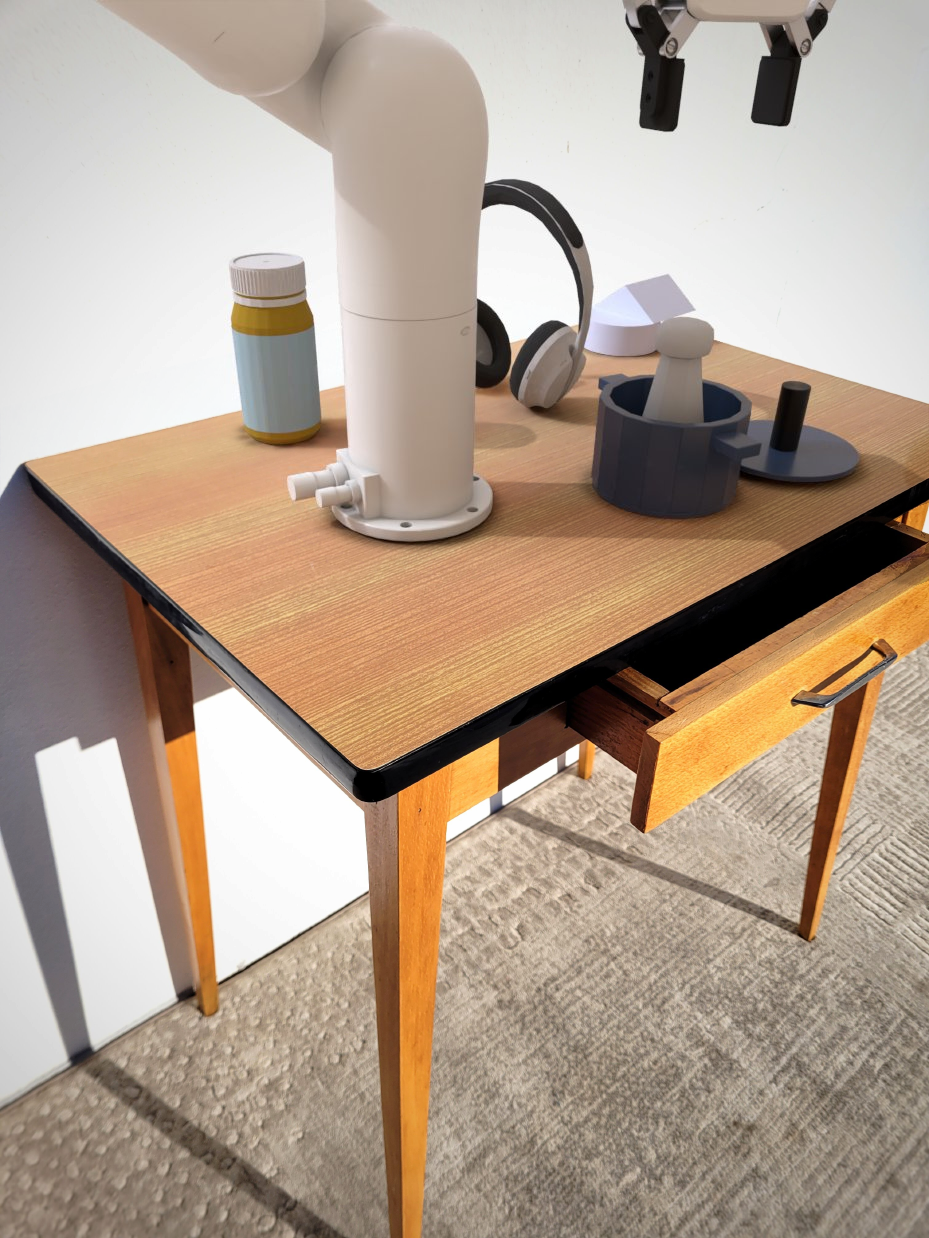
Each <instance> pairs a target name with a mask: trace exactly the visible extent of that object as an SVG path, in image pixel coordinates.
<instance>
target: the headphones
mask: <svg viewBox="0 0 929 1238" xmlns="http://www.w3.org/2000/svg"><path fill="white" fill-rule="evenodd" d="M498 205H499V206H500V205H504V206H513V207H516V208H517V209H520V210H523V211H525V212H527V213H529V214H531V215H533V217H535V218H536V219H537V220H538V221H539V222H541V223H542V224H543V225H544V227H545V229H547V231H548V232H549V233H550V234H551V236H552V237H553V239H554V240H555V241H556V242H557V244H558V245H559V246H560V248H561V249H562V251H563V253H564V256H565V258H566V261H567V263H568V264H569V265H568V266H569V267H570V269H571V271H572V274H573V278H574V281H575V285H576V292H577V299H578V300H577V301H578V307H579V308H578V327H577V328H578V330H577V332H576V330H575V329H574V328H573V327H572V326H570V325H569V324H567V323H566V322H563V321H560V320H555V319H550V320H548V321H545V322H543V323H541V324H540V325H539V326H538V327H536V328H535V329H534V331H533V332H531V334H530V335H529V336H528V337H527V338H526V340H525V341H524V343H523V344H522V346H521V347H520V349H519V351H518V353H517V355H516V356H515V360H514V362H513V364H512V347H511V341H510V337H509V336H510V335H509V334H508V330H507V329H506V327H505V324H504V322H503V321H502V320H501V318H500V316H499V315H498V313H497V312H496V311H495V310H494V308H492V307H491V306H490V305H489V304H488V303H486V301H483V300H481V299H480V298H478V297H477V332H476V378H475V389H476V390H477V389H478V390H487V389H492V388H495V387H497V386H498V385H499V384H501V383H502V382H503V381H504V380H505V379H506V377H507V375H508V374H509V372H510V376H509V381H508V382H509V389H510V393H511V394H512V396H513V398H514V399H515V400H516V401H517V402H519V404H521V405H522V406H524V407H526V408H532V407H542V408H545V409H549V408H551V407H552V406H554V405H555V404H556V403H559V402H560V401H562V400H563V398H564V397H566V396H567V395H568V394H569V393H570V392H571V390H573V388H574V386H575V385H576V384H577V383H578V381H579V379H580V377H581V376H582V373H583V371H584V369H585V367H586V363H587V356H586V354H585V353H584V349H585V348H584V346H585V342H586V338H587V334H588V330H589V326H590V318H591V309H592V307H593V300H594V299H593V298H594V289H595V286H594V278H593V270H592V263H591V260H590V255H589V251H588V249H587V246H586V243H585V240H584V237H583V233H582V232H581V231H580V229H579V227H578V225H577V224H576V222H575V221H574V219H573V217H572V216H571V214H570V213H569V211H568V210H567V209H566V207H564V205H563V204H562V203H561V201H560V200H559V199H558V198H556V196H554V195H553V194H552V193H551V192H550V191H548V190H547V189H545V188H543V187H541V185H538V184H536V183H533V182H531V181H527V180H522V179H517V178H502V179H497V180H493V181H489V182H485V186H484V193H483V201H482V209H481V212H482V211H483V210H486V209H487V208H489V207H492V206H493V207H494V206H498ZM510 369H511V370H510Z"/></svg>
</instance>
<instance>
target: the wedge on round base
mask: <svg viewBox="0 0 929 1238" xmlns="http://www.w3.org/2000/svg"><path fill="white" fill-rule="evenodd" d="M695 311H697V309H696V308H695V307H694V305H693V304H692V302H690V300H689V299H688V297H687V296H686V294H684V292H683V291H682V290H681V288H680V287H679V286H678V284H677V283H676V282H675V280H674V279H673V278H672V277H671V275H670V274H669V273H665V274H662V275H659V276H655V277H651V278H647V279H644V280H640V281H636V282H632V283H628V284H625V285H623V286H622V287H620V288H619V289H617V290H615V291H614V292H612V293H611V294H609V295H608V296H607V297H605V298H604V299H602V300H600V301H599V302H597V303H596V304H594V305H592V309H591V318H590V326H589V330H588V334H587V338H586V342H585V346H584V349H585V350H588V351H590V352H592V353H596V354H600V355H606V356H614V357H638V356H644V355H648V354H651V353H654V352H655V351H657V350H656V348H655V337H656V333H657V330H658V327H659V325H660V324H661V323H662V322H663V321H664V320H666V319H669V318H674V317H680V316H682V315H686V314H689V313H692V312H695Z"/></svg>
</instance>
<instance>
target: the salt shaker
mask: <svg viewBox="0 0 929 1238" xmlns="http://www.w3.org/2000/svg"><path fill="white" fill-rule="evenodd" d="M714 342H715V328H713V326H712V325H711V324H710V323H709V322H708V321H707V320H703V319H700V318H697V317H689V316H676V317H673V318H669V319H666V320H664V321H661V323H660V325H659V327H658V330H657V333H656V337H655V348H656V350H655V351H657V352H658V353H660V356H659V361H658V363H657V367H656V371H655V373H654V375H655V377H654V380H653V383H652V386H651V390H650V393H649V396H648V400H647V403H646V406H645V409H644V413H643V416H642V417H645V418H649V419H653V420H659V421H667V422H675V423H704V417H703V394H702V379H703V358H704V357H707V356H709V355H710V353H711V351H712V349H713V345H714Z"/></svg>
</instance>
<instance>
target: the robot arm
mask: <svg viewBox="0 0 929 1238" xmlns="http://www.w3.org/2000/svg"><path fill="white" fill-rule="evenodd" d="M94 1H95V2H96V3H97V4H99V5H100V6H102V7H104V9H106V10H108V11H109V12H111V13H113V14H114V15H116V16H117V17H118V18H120V19H122V20H123V21H125V23H128V24H129V25H130V26H132V27H134V28H135V29H137V30H138V31H140V32H141V33H142V34H144V35H145V36H147V37H149V38H150V39H152V40H153V41H154V42H156V43H157V44H159V45H161V46H162V47H163V48H164V49H166V50H167V51H169V52H170V53H171V54H173V55H174V56H176V57H177V58H178V59H180V61H182V62H183V63H185V64H186V65H187V66H188V67H190V68H191V69H192V70H193V71H194V72H195V73H196V74H198V75H199V77H201V78H202V79H203V80H205V81H206V82H208V83H210V84H211V85H213V86H214V87H216V88H218V89H219V90H223V91H224V92H227V93H230V94H233V95H235V96H242V97H243V98H244V99H246V100H248V101H249V102H251V103H253V104H254V105H256V106H258V107H259V108H260V109H262V110H263V111H265V112H267V113H268V114H270V115H271V116H273V117H274V118H275V119H278V121H280V122H282V123H283V124H285V125H286V126H288V127H290V128H291V129H293V130H294V131H296V132H297V133H299V134H300V135H301V136H304V137H305V138H307V139H308V140H309V141H311V142H313V143H314V144H316V145H317V146H319V147H320V148H322V149H324V150H325V151H327V152H328V153H330V154H331V156H332V157H331V159H332V172H333V195H334V222H335V223H334V225H335V226H334V229H335V231H334V232H335V253H336V254H335V255H336V274H337V275H336V276H337V292H338V304H339V312H340V313H339V314H340V315H339V316H340V329H341V331H340V333H341V347H342V348H341V349H342V364H343V365H342V366H343V381H344V397H345V401H344V402H345V415H346V416H345V417H346V433H347V434H346V435H347V447H344V448H338V449H336V450H335V455H336V462H333V463H329V464H328V463H327V464H326V467H325V469H322V470H317V471H311V470H310V471H306V472H301V473H296V474H290V475H288V476H287V478H286V486H287V490H288V494H289V496H290V498H291V500H292V501H293V502H299V501H303V500H307V499H313V498H315V499H316V500H315V501H316V504H317V506H318V508H319V509H325V508H329V507H331V511H332V513H333V516H334V517H335V518H336V519H337V520H338V521H339V522H340V523H341V525H343V526H345V527H346V528H348V529H350V530H351V531H354V532H356V533H359V534H361V535H363V536H366V537H371V538H374V539H379V540H385V541H393V542H411V543H412V542H428V541H429V542H430V541H437V540H443V539H446V538H451V537H455V536H458V535H460V534H463V533H466V532H469V531H471V530H472V529H474V528H475V527H478V526H479V525H480V524H482V523H483V522H484V521H485V520H487V518H488V517H489V515H490V514H491V512H492V510H493V504H494V503H493V502H494V499H493V498H494V496H493V494H494V493H493V490H492V487H491V485H490V484H489V483H488V482H487V480H486V479H484V478H483V477H482V476H481V475H479V474H478V473H476V472H474V465H475V464H474V462H475V423H476V422H475V420H476V419H475V418H476V417H475V416H476V415H475V414H476V388H475V378H476V332H477V298H478V270H479V269H478V267H479V247H480V246H479V245H480V230H481V229H480V228H481V220H482V219H481V217H482V211H481V209H482V201H483V193H484V186H485V183H486V179H487V178H486V177H487V169H488V158H489V141H490V139H489V137H490V135H489V134H490V133H489V131H490V130H489V119H488V111H487V106H486V100H485V97H484V93H483V90H482V88H481V85H480V83H479V80H478V77H477V76H476V73H475V72H474V70H473V68H472V67H471V65H470V63H469V62H468V61H467V59H466V58H465V57H464V56H463V54H462V53H461V52H460V51H459V50H458V49H457V48H456V47H455V46H454V45H453V44H452V43H450V42H449V41H447V40H446V39H445V38H443V37H441V36H440V35H438V34H436V33H434V32H432V31H430V30H427V29H424V28H419V27H416V26H415V27H414V26H407V25H406V26H405V25H403V24H401V23H400V22H398V21H397V20H396V19H394V18H393V17H392V16H391V15H388V14H387V13H386V12H384V11H383V10H382V9H381V8H379V7H378V6H376V5H375V4H374V3H372V2H371V1H370V0H94ZM621 1H622V5H623V9H625V11H626V12H625V17H624V20H625V24H626V26H627V28H628V30H629V31H630V33H631V34H632V37H633V38H634V40H635V42H636V51H637V54H638V55H639V56H640V57H643V58H644V61H643V72H642V81H641V89H640V99H639V118H638V119H639V120H638V125H639V127H640V128H641V129H645V130H649V131H650V130H651V131H657V132H663V133H671V132H674V131H675V130H676V129H678V125H679V119H680V109H681V102H682V94H683V86H684V78H685V70H686V63H685V60H686V59H685V58H683V57H682V58H681V57H677V56H678V54H679V52H680V51H681V50H682V48H683V46H685V44H686V42H687V41H688V39H689V38H690V36H691V35H692V33H693V32H694V31H695V29H696V27H697V26H698V25H699V23H700V22H709V23H710V22H711V23H749V24H750V23H752V24H753V23H755V24H757V23H758V25H759V27H760V30H761V32H762V35H763V38H764V40H765V43H766V46H767V48H768V51H769V53H770V55H761V57H760V61H759V65H758V71H757V77H756V83H755V89H754V94H753V101H752V107H751V112H750V120H751V122H752V123H754V124H756V125H757V124H759V125H764V126H771V127H772V126H773V127H788V126H789V125H790V123H791V120H792V115H793V109H794V104H795V99H796V93H797V88H798V82H799V77H800V71H801V66H802V61H803V59H804V58H807V57H808V56H809V55H810V54H811V52H812V50H813V47H814V45H813V44H814V43H813V42H815V40H816V39H817V38H818V36H820V34H821V33H822V31H823V30H824V29H825V27H826V26H827V24H828V22H829V21H828V20H829V14H830V13H831V11H832V10H833V8H834V6H835V5H836V2H837V0H621Z"/></svg>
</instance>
